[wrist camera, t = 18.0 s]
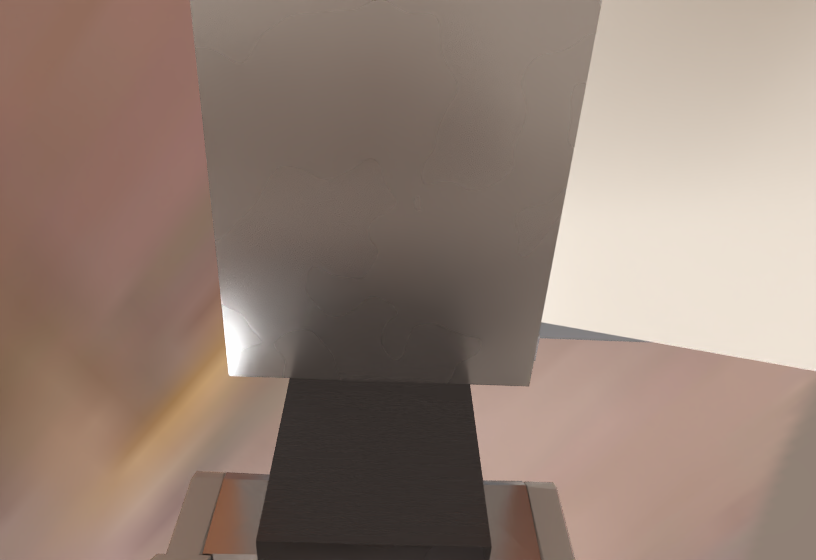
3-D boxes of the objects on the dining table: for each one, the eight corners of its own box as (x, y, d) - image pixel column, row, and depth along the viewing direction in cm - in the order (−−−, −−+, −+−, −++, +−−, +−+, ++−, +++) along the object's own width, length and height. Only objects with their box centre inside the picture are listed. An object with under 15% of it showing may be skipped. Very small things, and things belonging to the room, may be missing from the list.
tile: (861, 379, 24) (849, 355, 25) (1092, -74, 17) (1060, -77, 18) (516, 317, 26) (519, 298, 27) (586, -109, 19) (587, -110, 20)
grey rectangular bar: (475, 623, 16) (494, 823, 13) (263, 618, 16) (228, 820, 13) (617, -184, 8) (777, -213, 5) (187, -212, 8) (26, -265, 4)
